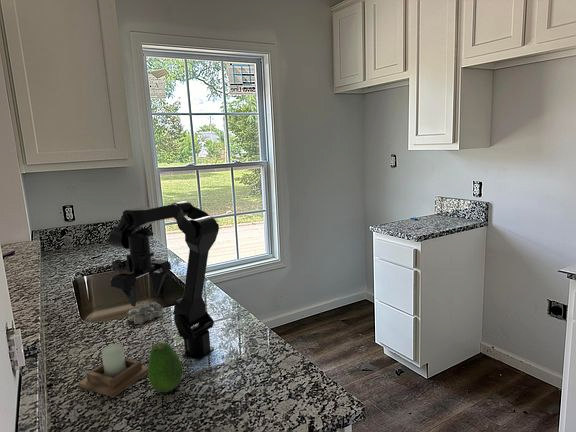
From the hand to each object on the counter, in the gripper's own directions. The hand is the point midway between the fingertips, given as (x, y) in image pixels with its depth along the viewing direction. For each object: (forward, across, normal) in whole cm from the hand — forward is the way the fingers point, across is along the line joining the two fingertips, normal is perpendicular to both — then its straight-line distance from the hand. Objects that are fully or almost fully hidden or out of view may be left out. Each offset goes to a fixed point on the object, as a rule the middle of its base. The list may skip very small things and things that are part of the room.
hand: (145, 300), depth 119 cm
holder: (+12, +20, +8) cm, 25 cm away
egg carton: (+12, -11, -12) cm, 21 cm away
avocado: (+12, +19, +24) cm, 33 cm away
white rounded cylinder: (+11, +20, +8) cm, 24 cm away
